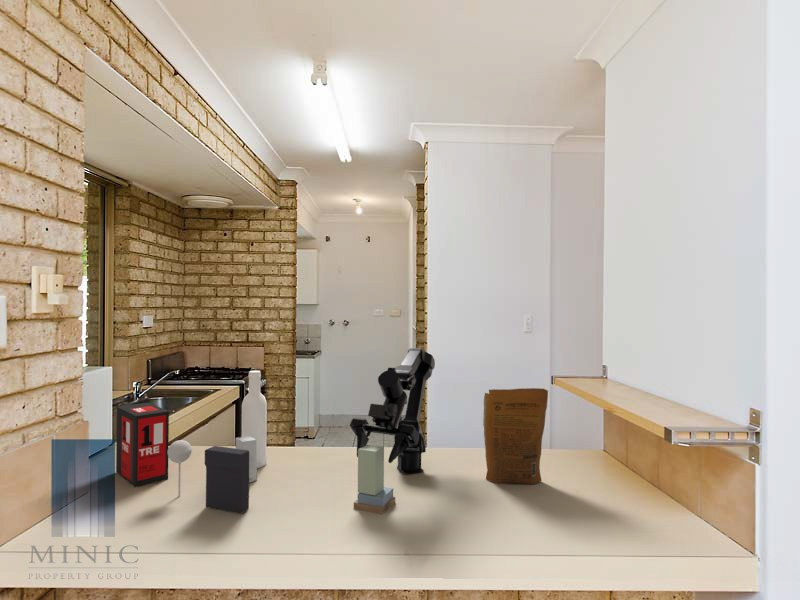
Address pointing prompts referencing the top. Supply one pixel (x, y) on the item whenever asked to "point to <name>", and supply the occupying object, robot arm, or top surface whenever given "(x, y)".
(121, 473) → the cleaning product box
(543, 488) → the top surface
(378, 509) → the walnut base block
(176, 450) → the lollipop
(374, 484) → the sage block
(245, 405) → the bottle
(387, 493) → the slate top block
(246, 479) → the calculator
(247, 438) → the skincare box
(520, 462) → the pancake mix bag
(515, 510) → the top surface
